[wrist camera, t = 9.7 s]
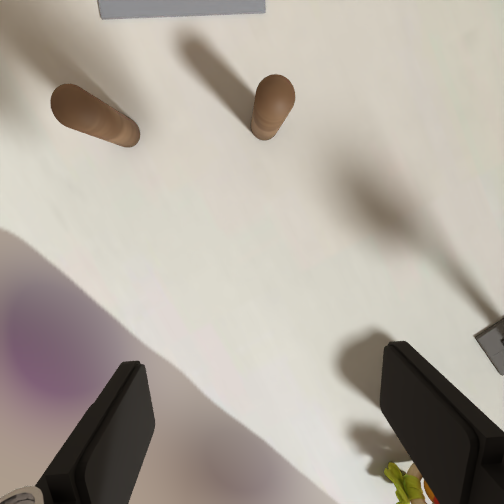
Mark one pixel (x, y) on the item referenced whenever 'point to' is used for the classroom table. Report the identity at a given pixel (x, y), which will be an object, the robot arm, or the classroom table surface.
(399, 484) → the bird rattle
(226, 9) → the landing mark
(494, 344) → the miniature traffic light
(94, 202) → the classroom table surface
